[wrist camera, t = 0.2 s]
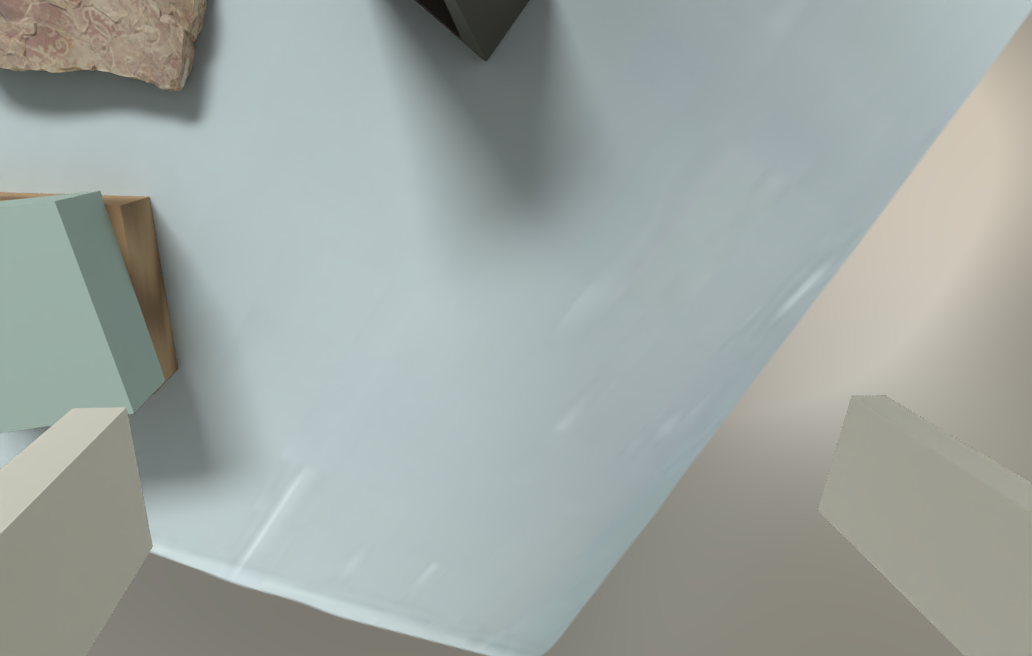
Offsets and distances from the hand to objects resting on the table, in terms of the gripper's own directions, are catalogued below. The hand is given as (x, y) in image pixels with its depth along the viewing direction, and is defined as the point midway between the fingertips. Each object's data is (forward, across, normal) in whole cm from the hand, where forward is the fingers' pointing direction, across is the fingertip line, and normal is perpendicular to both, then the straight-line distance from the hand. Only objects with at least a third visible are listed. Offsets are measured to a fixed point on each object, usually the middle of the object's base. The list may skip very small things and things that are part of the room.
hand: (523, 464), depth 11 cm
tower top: (+24, -23, -5) cm, 34 cm away
